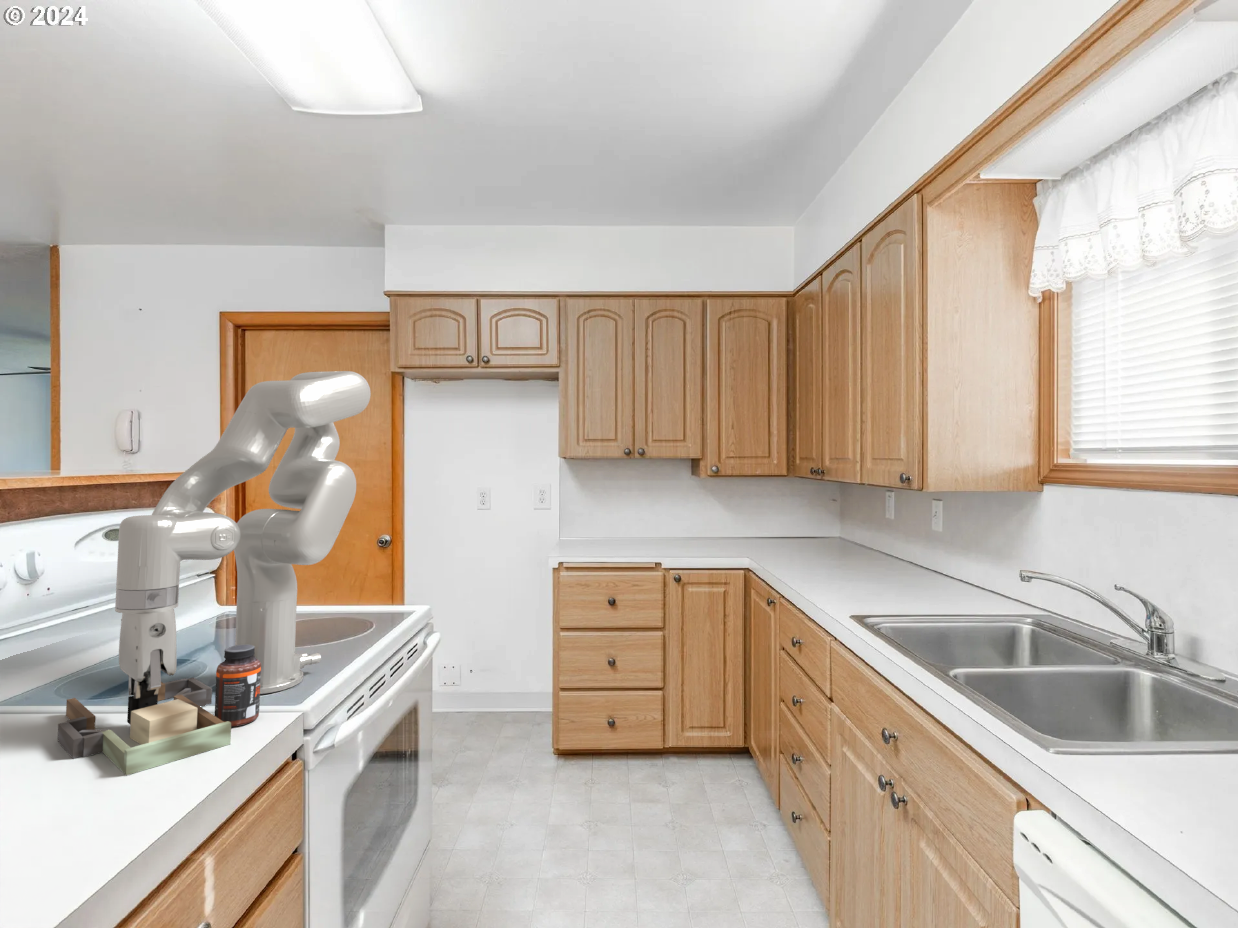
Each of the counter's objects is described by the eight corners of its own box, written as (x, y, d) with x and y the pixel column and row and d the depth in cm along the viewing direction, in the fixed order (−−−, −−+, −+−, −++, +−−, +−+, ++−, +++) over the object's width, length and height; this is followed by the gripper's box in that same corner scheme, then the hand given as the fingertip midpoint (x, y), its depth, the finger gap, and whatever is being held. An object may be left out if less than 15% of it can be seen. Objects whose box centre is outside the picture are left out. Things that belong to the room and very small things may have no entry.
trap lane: (187, 688, 109) (188, 671, 109) (262, 734, 92) (262, 714, 92) (39, 721, 94) (40, 701, 94) (95, 784, 76) (97, 759, 76)
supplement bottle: (263, 721, 96) (266, 648, 96) (219, 732, 92) (222, 655, 92) (253, 710, 100) (256, 640, 101) (210, 719, 96) (212, 646, 96)
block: (177, 725, 94) (178, 698, 94) (196, 735, 91) (197, 707, 91) (129, 738, 89) (131, 710, 89) (148, 749, 86) (149, 720, 86)
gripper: (195, 602, 91) (189, 728, 91) (160, 588, 100) (155, 702, 100) (132, 610, 85) (126, 744, 85) (101, 594, 94) (96, 716, 94)
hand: (142, 721), depth 92 cm, fingers closed
